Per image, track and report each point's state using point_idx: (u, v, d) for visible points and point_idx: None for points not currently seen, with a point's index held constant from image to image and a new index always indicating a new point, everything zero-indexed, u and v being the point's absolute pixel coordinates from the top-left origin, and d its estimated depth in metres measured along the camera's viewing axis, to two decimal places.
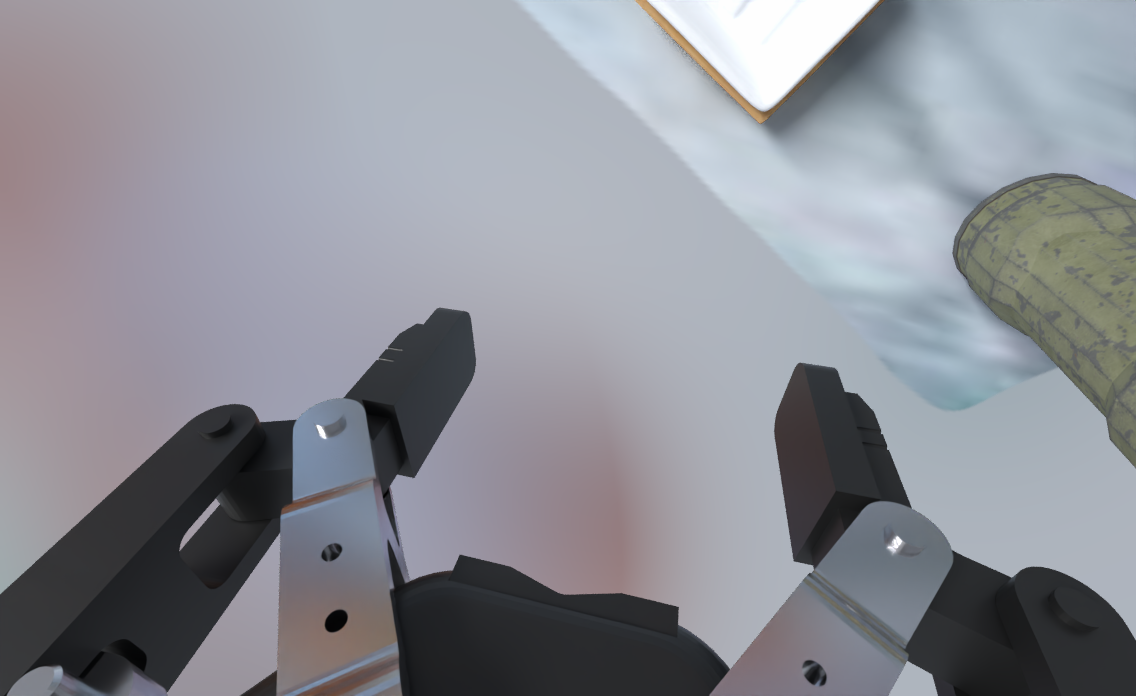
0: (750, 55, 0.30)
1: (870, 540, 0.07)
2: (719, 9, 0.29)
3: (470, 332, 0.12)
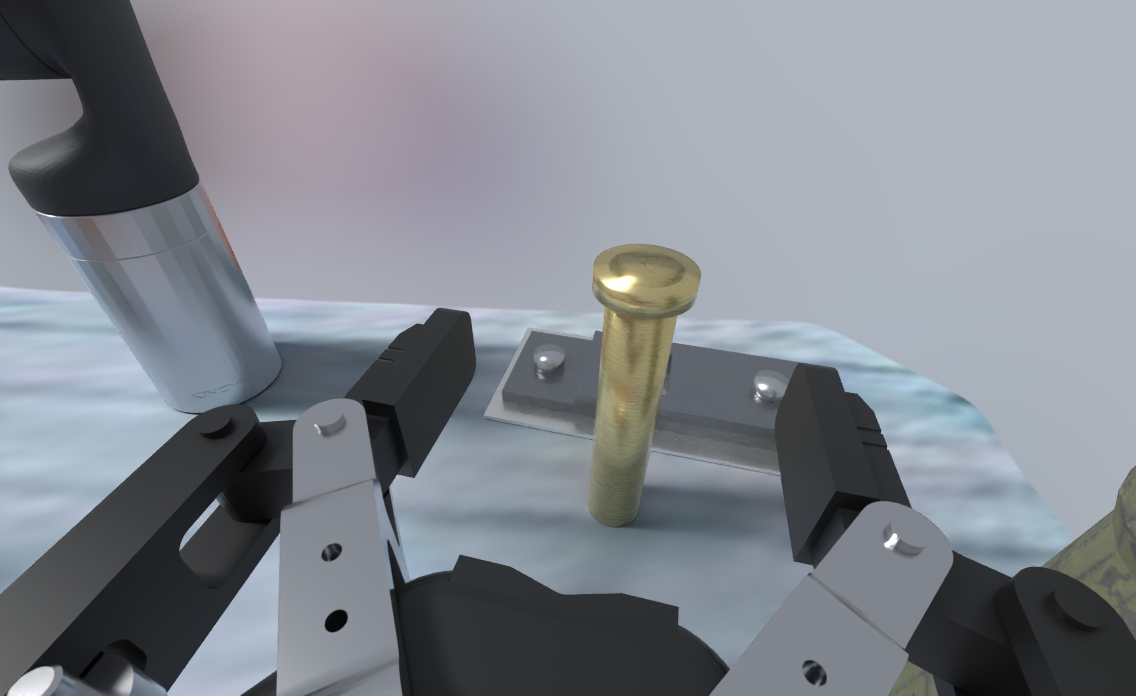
0: None
1: (870, 540, 0.07)
2: None
3: (470, 332, 0.12)
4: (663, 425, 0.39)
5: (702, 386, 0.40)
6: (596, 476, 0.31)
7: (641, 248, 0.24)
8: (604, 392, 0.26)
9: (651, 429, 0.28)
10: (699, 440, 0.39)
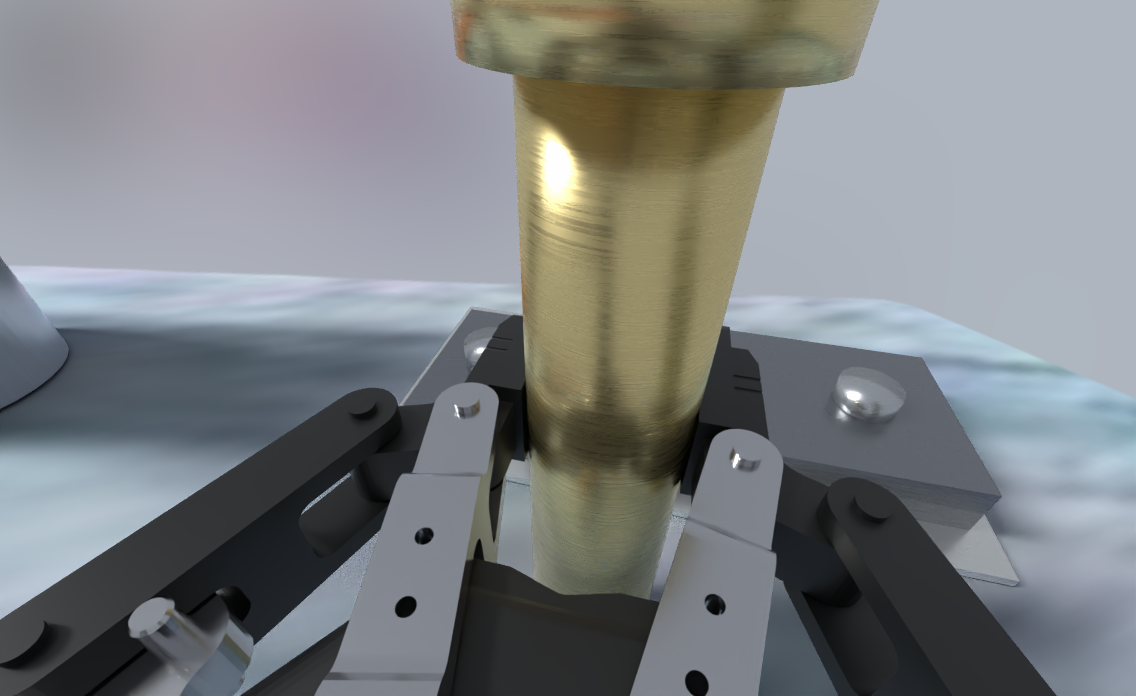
0: None
1: (723, 468, 0.08)
2: None
3: None
4: None
5: None
6: None
7: None
8: (536, 419, 0.09)
9: (667, 512, 0.11)
10: None
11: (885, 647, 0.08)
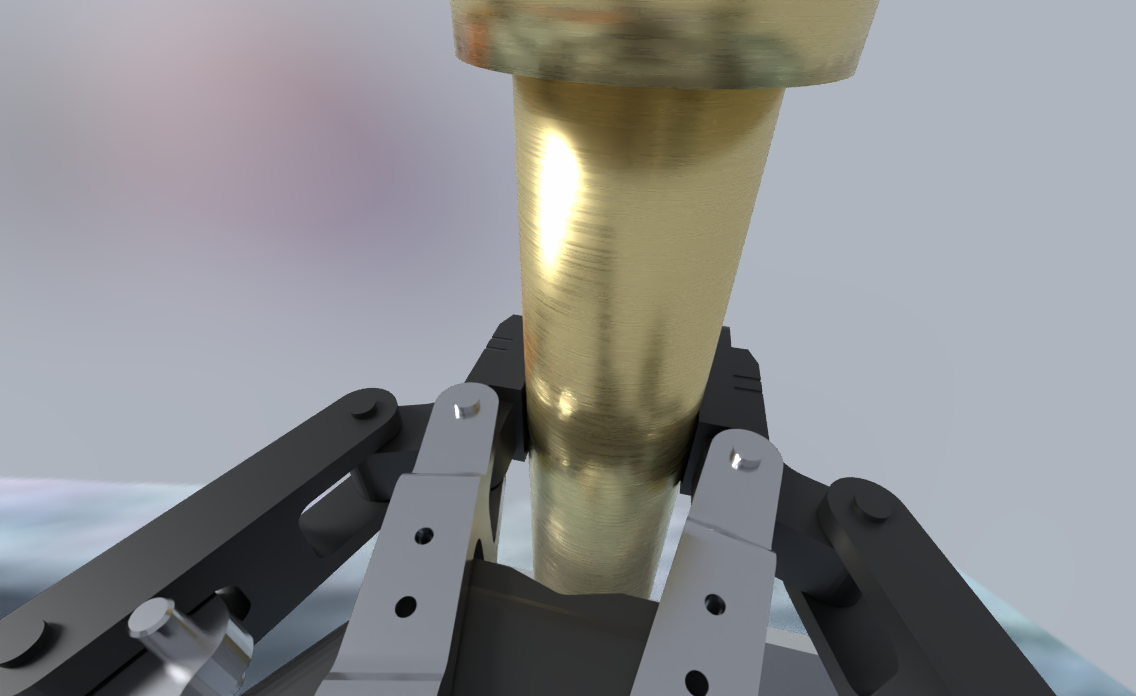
0: None
1: (723, 468, 0.08)
2: None
3: None
4: None
5: None
6: None
7: None
8: (536, 419, 0.09)
9: (667, 512, 0.11)
10: None
11: (885, 647, 0.08)
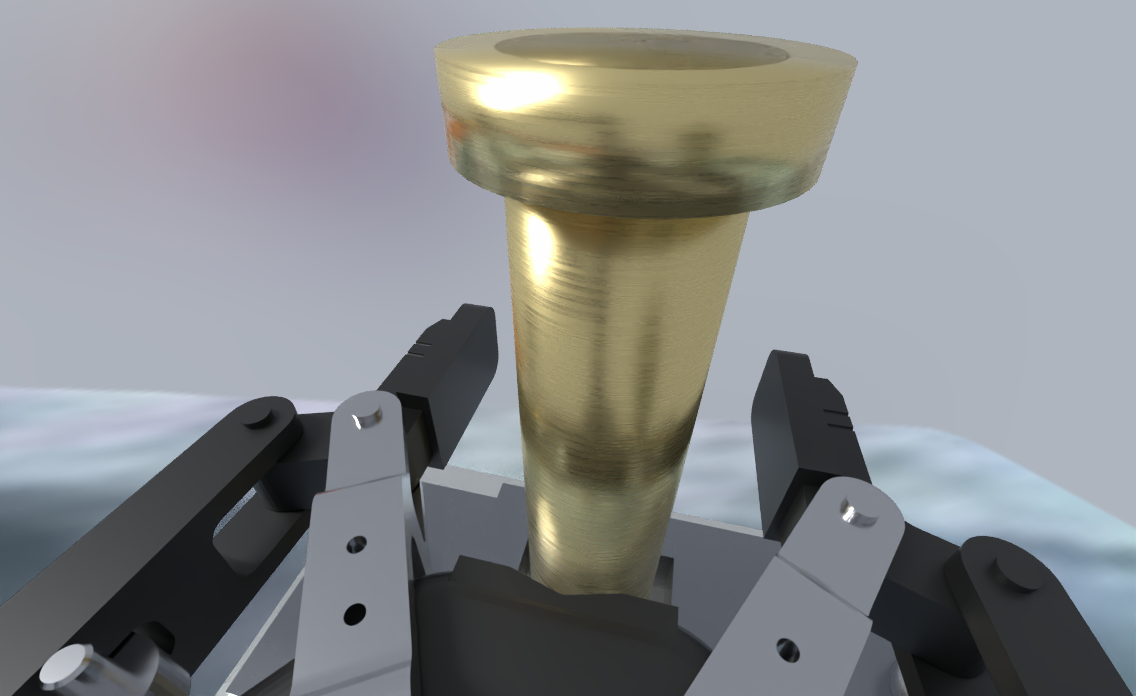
0: None
1: (830, 515, 0.07)
2: None
3: (494, 327, 0.12)
4: None
5: None
6: None
7: (621, 30, 0.08)
8: (531, 466, 0.10)
9: (658, 547, 0.11)
10: None
11: None
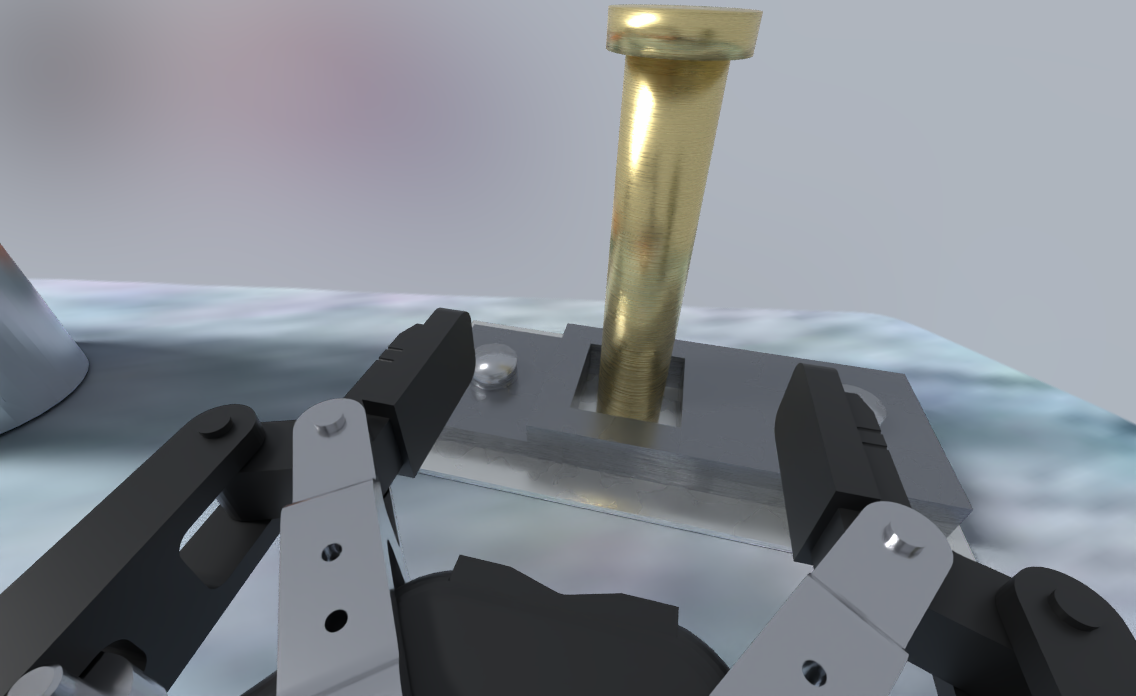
0: None
1: (870, 540, 0.07)
2: None
3: (470, 332, 0.12)
4: (673, 478, 0.23)
5: (736, 411, 0.24)
6: (608, 363, 0.24)
7: (672, 5, 0.17)
8: (621, 223, 0.19)
9: (681, 285, 0.21)
10: (734, 504, 0.23)
11: None
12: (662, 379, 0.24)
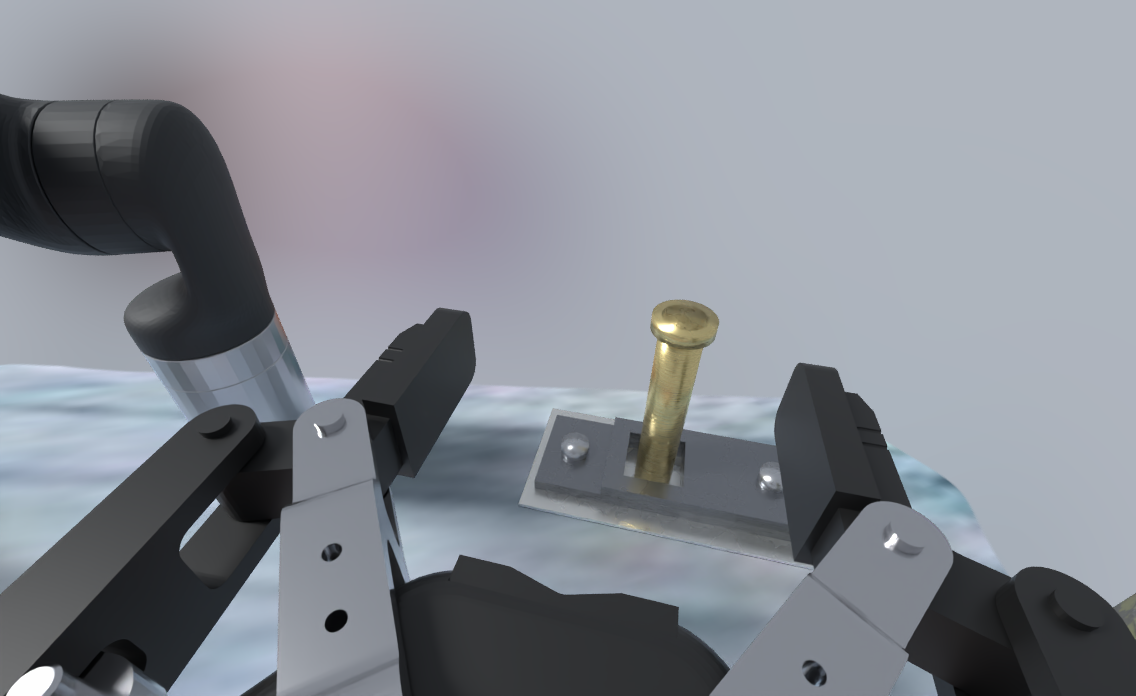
0: None
1: (870, 540, 0.07)
2: None
3: (470, 332, 0.12)
4: (679, 514, 0.44)
5: (713, 477, 0.45)
6: (644, 452, 0.44)
7: (680, 303, 0.38)
8: (654, 394, 0.40)
9: (684, 419, 0.41)
10: (711, 528, 0.43)
11: None
12: (673, 460, 0.45)
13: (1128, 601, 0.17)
